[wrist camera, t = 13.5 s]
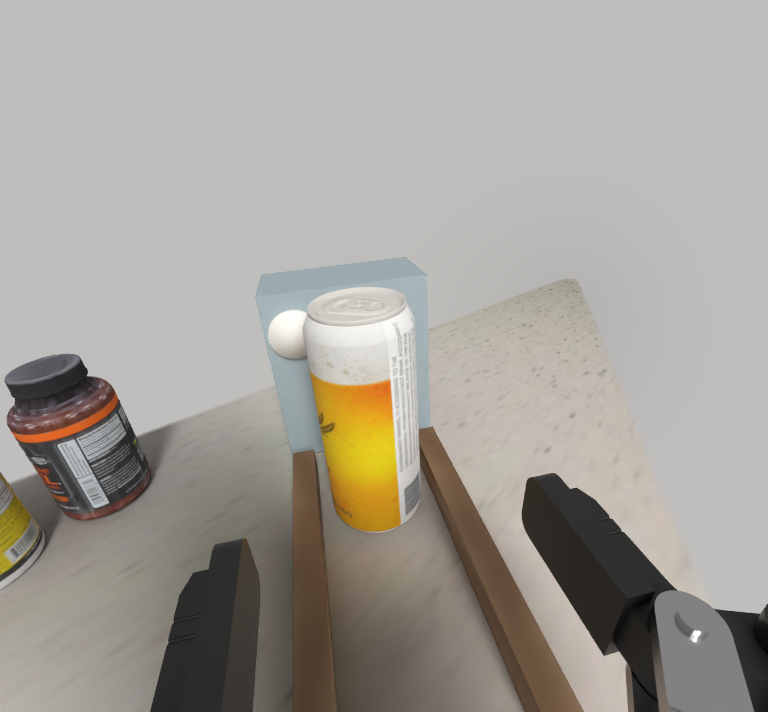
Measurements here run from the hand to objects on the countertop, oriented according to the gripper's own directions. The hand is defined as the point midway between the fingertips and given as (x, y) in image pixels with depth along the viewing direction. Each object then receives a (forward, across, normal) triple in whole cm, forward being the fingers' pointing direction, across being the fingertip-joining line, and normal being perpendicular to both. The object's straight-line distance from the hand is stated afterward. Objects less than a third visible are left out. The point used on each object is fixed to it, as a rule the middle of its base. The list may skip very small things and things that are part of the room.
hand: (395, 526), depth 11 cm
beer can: (+12, -1, +13) cm, 18 cm away
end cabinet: (+22, -1, +13) cm, 25 cm away
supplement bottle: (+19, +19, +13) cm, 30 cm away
